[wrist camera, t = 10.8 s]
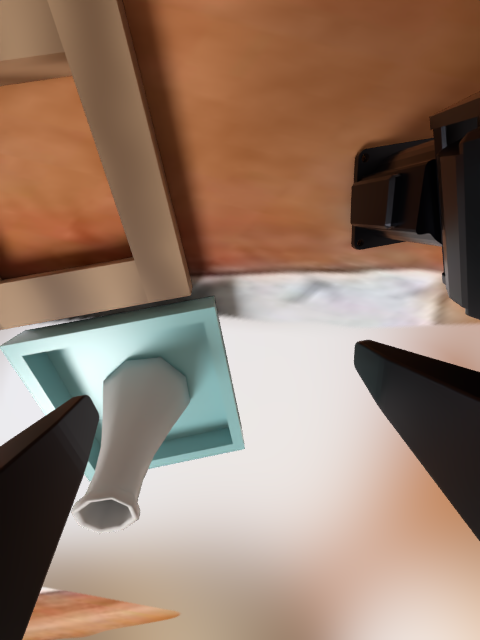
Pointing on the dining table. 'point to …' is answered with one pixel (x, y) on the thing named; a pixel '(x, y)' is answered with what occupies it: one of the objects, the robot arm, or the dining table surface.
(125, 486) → the flask
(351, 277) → the dining table surface
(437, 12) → the dining table surface
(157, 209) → the frame
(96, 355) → the teal tray
